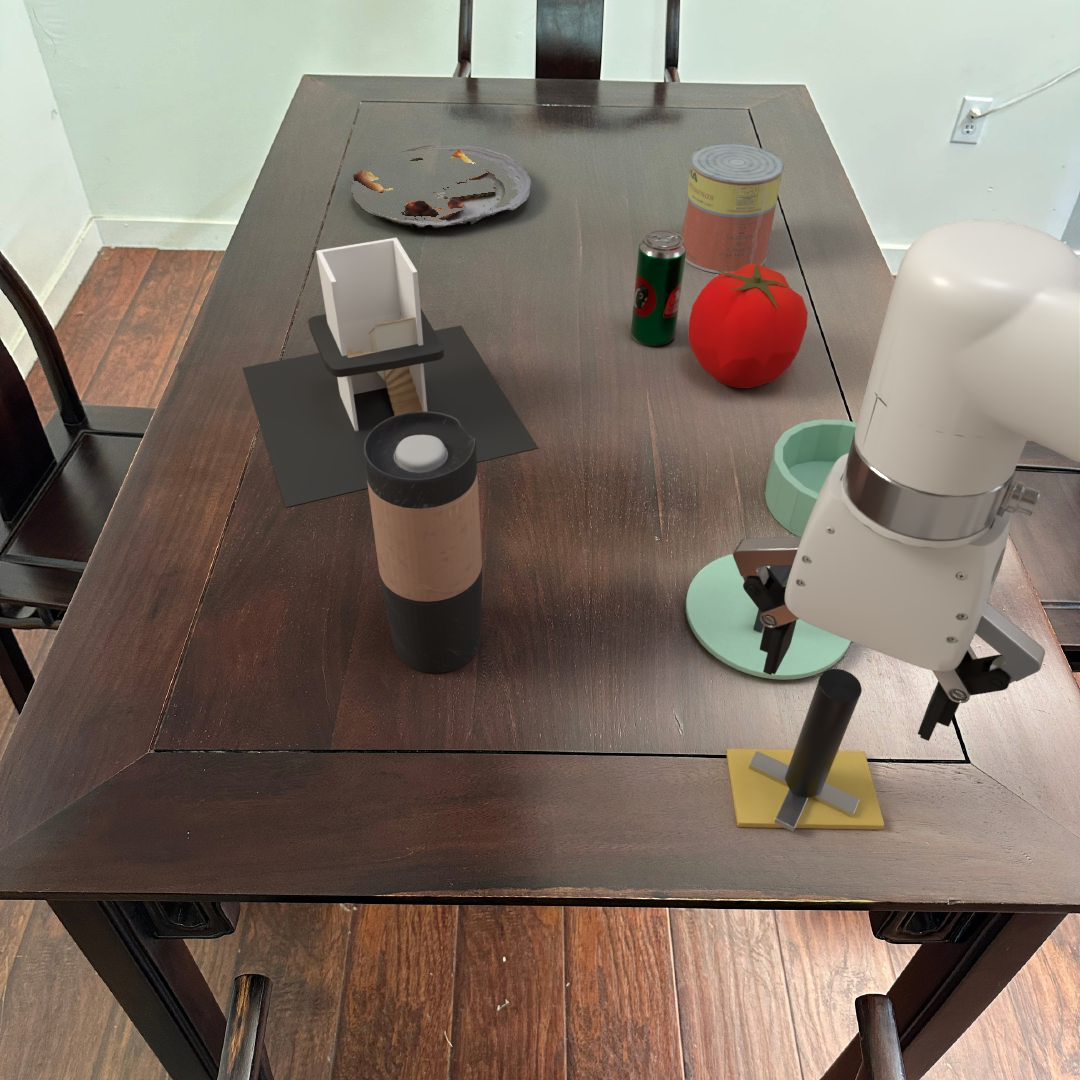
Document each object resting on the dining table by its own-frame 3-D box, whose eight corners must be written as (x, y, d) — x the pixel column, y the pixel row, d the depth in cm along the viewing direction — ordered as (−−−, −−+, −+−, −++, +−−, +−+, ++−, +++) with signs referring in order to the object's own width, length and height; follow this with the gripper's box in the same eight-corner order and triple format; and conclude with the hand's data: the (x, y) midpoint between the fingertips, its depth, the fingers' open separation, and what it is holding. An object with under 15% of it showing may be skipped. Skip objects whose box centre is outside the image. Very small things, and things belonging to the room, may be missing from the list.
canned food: (697, 225, 131) (710, 136, 123) (778, 245, 127) (796, 154, 119) (666, 261, 124) (676, 168, 115) (749, 282, 120) (766, 189, 112)
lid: (871, 598, 82) (892, 543, 77) (819, 711, 73) (838, 656, 69) (722, 540, 87) (734, 485, 82) (657, 639, 78) (665, 584, 74)
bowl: (917, 487, 92) (933, 446, 89) (879, 569, 84) (894, 527, 81) (792, 444, 97) (802, 403, 93) (744, 517, 89) (753, 476, 85)
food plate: (393, 252, 124) (390, 226, 122) (327, 184, 139) (323, 159, 136) (559, 211, 134) (560, 186, 131) (481, 151, 148) (480, 127, 146)
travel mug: (376, 667, 76) (344, 471, 62) (407, 597, 81) (383, 402, 67) (470, 684, 75) (459, 489, 61) (495, 612, 80) (490, 418, 66)
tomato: (673, 394, 103) (686, 297, 95) (692, 329, 112) (706, 236, 104) (789, 413, 100) (812, 316, 92) (799, 346, 110) (821, 252, 102)
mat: (862, 755, 70) (864, 750, 70) (882, 830, 66) (885, 825, 66) (726, 752, 70) (727, 748, 70) (737, 827, 66) (738, 822, 66)
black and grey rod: (871, 769, 69) (917, 668, 61) (837, 854, 64) (883, 756, 56) (771, 723, 72) (802, 621, 64) (731, 801, 67) (760, 701, 59)
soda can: (669, 351, 109) (682, 253, 100) (626, 344, 110) (635, 245, 101) (678, 329, 112) (691, 231, 104) (636, 321, 113) (645, 224, 105)
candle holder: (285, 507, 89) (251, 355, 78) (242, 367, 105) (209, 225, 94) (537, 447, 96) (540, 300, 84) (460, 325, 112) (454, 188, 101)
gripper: (1121, 490, 47) (1008, 704, 59) (784, 389, 54) (742, 600, 65) (1099, 586, 43) (980, 797, 54) (732, 463, 49) (697, 675, 61)
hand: (850, 689), depth 60 cm, fingers open, 9 cm apart
